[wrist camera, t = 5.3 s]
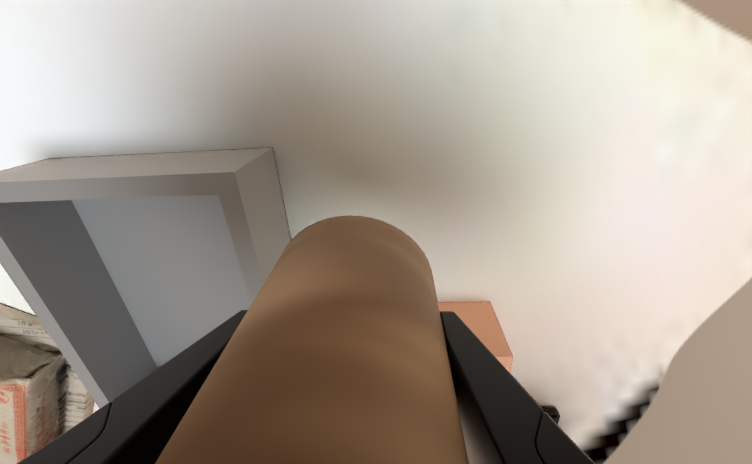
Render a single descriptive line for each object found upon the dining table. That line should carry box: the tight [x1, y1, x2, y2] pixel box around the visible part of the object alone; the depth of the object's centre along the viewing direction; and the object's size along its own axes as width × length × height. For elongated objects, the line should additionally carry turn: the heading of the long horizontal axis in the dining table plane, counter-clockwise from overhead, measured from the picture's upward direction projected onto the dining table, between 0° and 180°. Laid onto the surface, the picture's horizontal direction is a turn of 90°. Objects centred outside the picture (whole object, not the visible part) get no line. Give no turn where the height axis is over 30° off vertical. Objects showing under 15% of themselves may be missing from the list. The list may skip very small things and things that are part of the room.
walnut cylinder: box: [155, 216, 469, 464], centre depth 7 cm, size 5×5×7 cm
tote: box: [0, 148, 291, 408], centre depth 21 cm, size 14×18×5 cm
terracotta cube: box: [438, 302, 513, 372], centre depth 22 cm, size 5×5×5 cm
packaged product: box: [0, 304, 95, 464], centre depth 28 cm, size 18×5×10 cm
